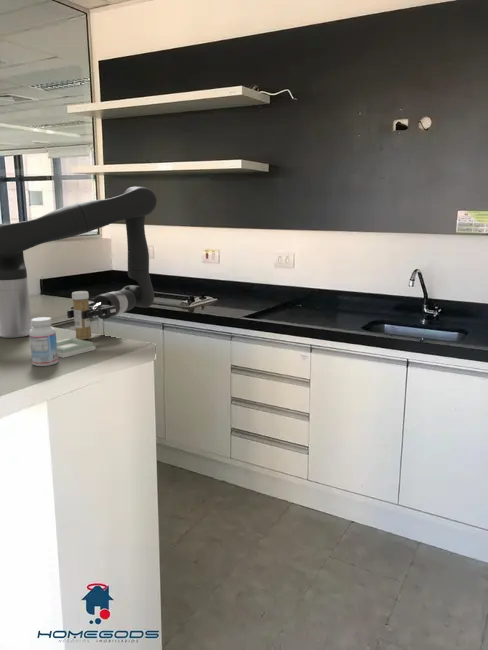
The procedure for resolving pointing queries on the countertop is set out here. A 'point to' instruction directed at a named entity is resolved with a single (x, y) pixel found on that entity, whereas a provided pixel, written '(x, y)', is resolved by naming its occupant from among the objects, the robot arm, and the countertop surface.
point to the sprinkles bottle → (81, 305)
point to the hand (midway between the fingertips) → (75, 315)
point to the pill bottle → (43, 342)
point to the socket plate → (73, 347)
